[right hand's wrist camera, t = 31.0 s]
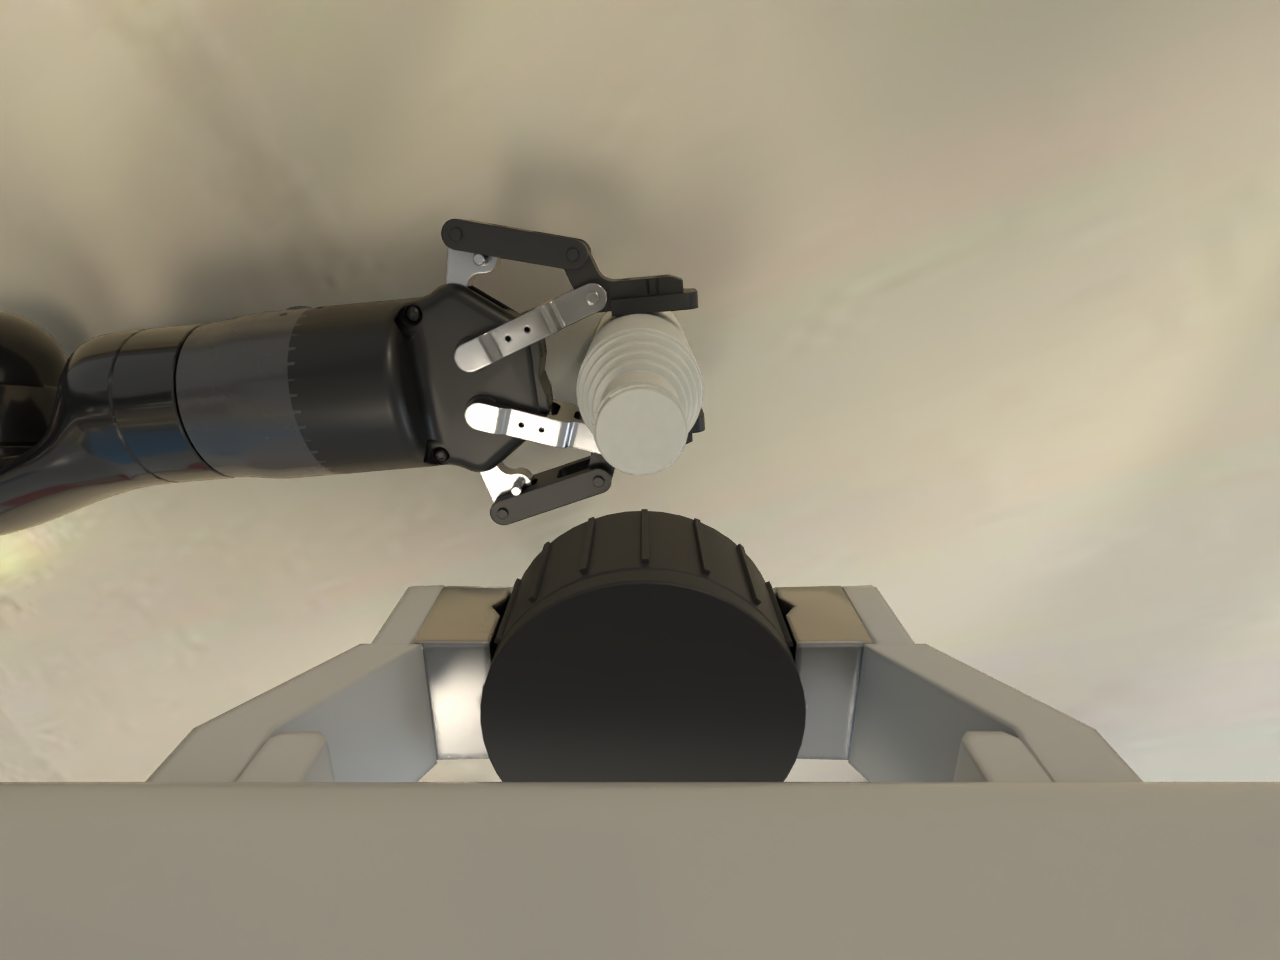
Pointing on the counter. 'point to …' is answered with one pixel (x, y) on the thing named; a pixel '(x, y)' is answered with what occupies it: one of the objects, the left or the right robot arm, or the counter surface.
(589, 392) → the bottle
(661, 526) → the cap
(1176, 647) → the counter surface
